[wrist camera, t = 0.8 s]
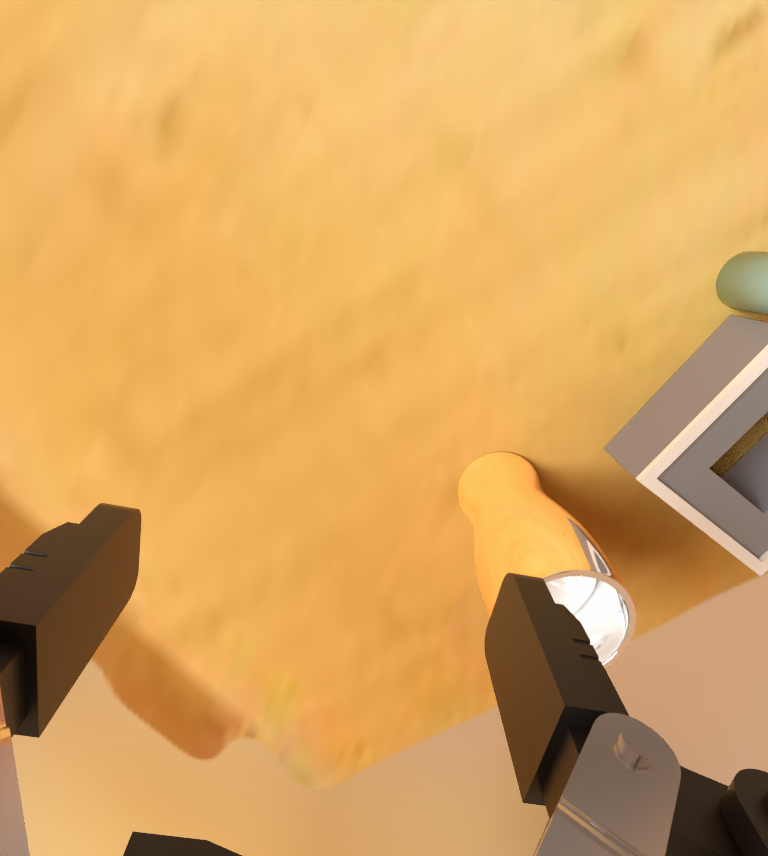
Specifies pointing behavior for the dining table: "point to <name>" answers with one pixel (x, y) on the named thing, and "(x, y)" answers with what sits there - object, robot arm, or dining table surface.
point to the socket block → (709, 440)
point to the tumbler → (542, 550)
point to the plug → (745, 282)
